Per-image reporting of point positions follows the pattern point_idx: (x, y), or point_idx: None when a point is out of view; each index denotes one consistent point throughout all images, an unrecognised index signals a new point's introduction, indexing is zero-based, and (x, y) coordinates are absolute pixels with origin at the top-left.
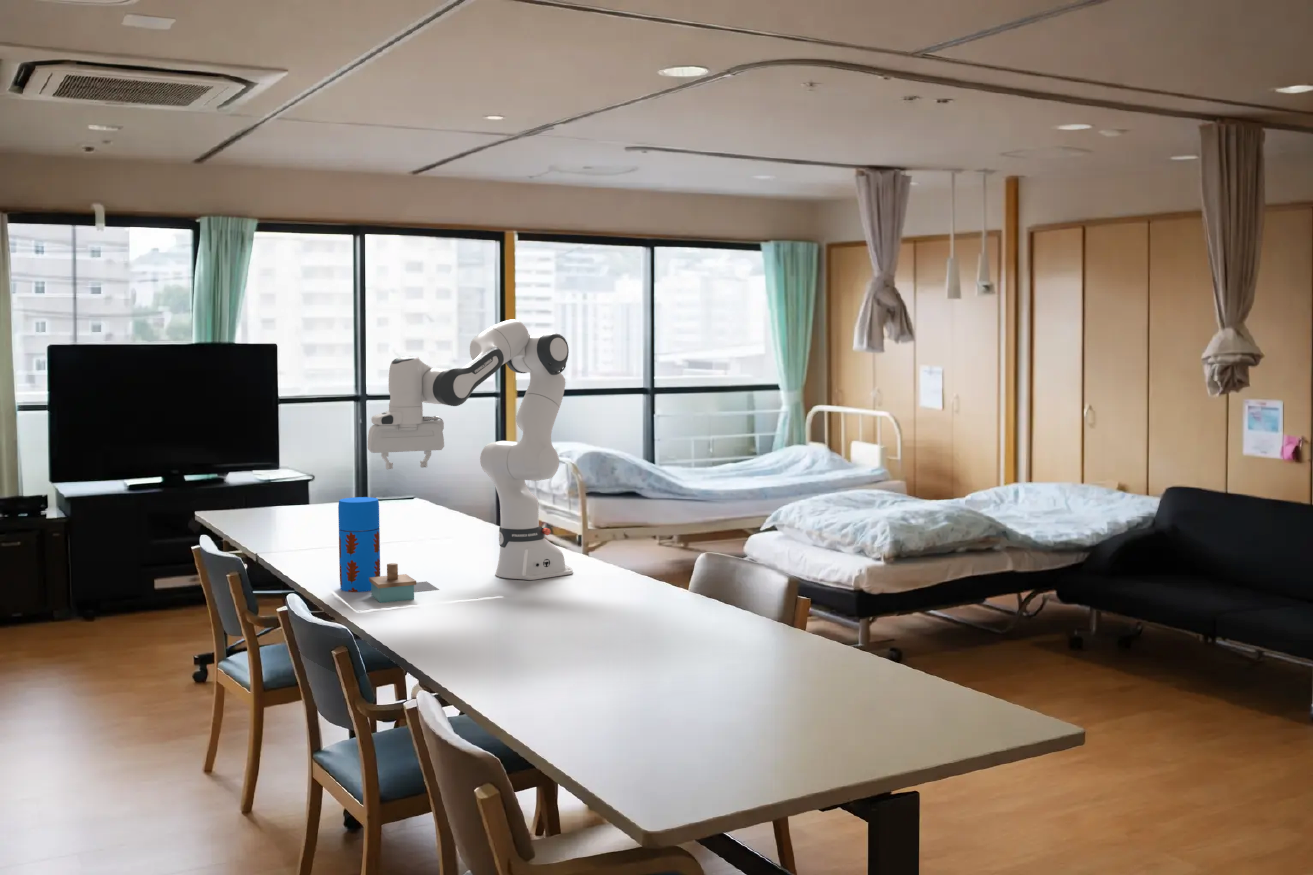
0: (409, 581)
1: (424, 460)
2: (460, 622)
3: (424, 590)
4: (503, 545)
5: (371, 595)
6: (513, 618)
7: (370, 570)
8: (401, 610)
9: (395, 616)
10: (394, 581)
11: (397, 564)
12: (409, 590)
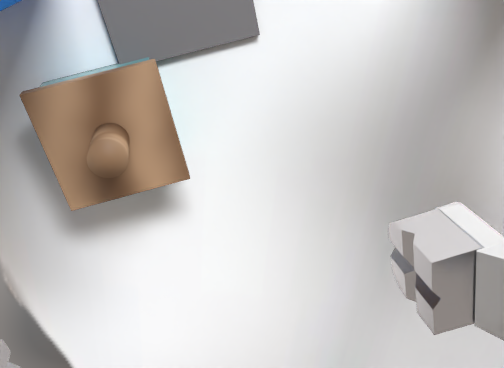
0: (168, 181)
1: (481, 299)
2: (270, 344)
3: (212, 37)
4: None
5: (41, 84)
6: (373, 324)
7: (6, 7)
8: (146, 240)
9: (134, 291)
10: (120, 175)
11: (127, 164)
12: None
